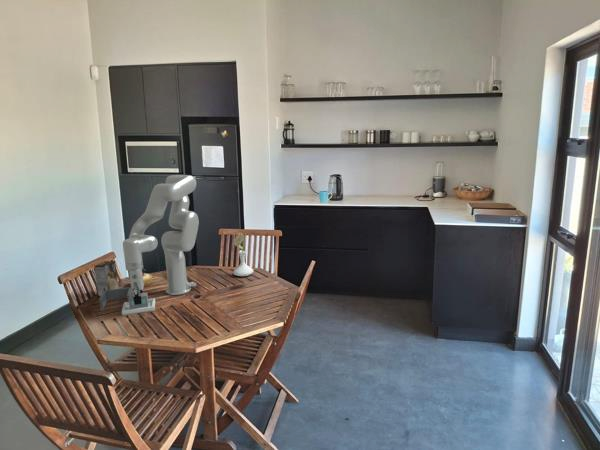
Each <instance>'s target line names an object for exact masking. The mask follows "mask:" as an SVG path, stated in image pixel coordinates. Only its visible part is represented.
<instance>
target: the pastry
mask: <svg viewBox="0 0 600 450" xmlns="http://www.w3.org/2000/svg"><path fill="white" fill-rule="evenodd" d="M143 270H144V271H146V269H144V268H142V275H143V282H144V287H143V288H147V287H149V286H151V285H152V283H153V280H154V278H153V275H152V274H151V273H146V272H143ZM128 280H129V281H130V278H129V279H128ZM129 283H130V282H129ZM130 285H131V283H130Z"/></svg>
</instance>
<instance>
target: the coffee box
mask: <svg viewBox="0 0 600 450" xmlns="http://www.w3.org/2000/svg"><path fill="white" fill-rule="evenodd" d="M116 265H117V263H116V260H111V261H110V260H105V261H102V262H100V263H98V264H96V265H93V266H94V267H93V268H94V273H95V281H96V287H97V295H98V296H99V297H101V294H102V292H103V291H106V290H111V289H119V288H120V285H119V279H118V271H117V266H116Z"/></svg>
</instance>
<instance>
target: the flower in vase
mask: <svg viewBox="0 0 600 450" xmlns="http://www.w3.org/2000/svg"><path fill="white" fill-rule="evenodd" d="M244 238H245V237H244V234H243V232H239V233H238V234H237V235H235V238H234V241H233V242H234V246H235V247H238V248H239V249H240V250H238V251H237V254H238V255H239V258H240V263H239V265H238V266H237V267H236V268H235V269H234V270H233V272H232V273H233V275H234V276H237V277H247V276H251V275H252V274H253V273H254V269H253V268H252V267H250V266H249V265H247V264H246V261H245V258H246V252H247V250H246V247H245V246H244V244H243V243H244V242H243V241H244Z"/></svg>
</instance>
